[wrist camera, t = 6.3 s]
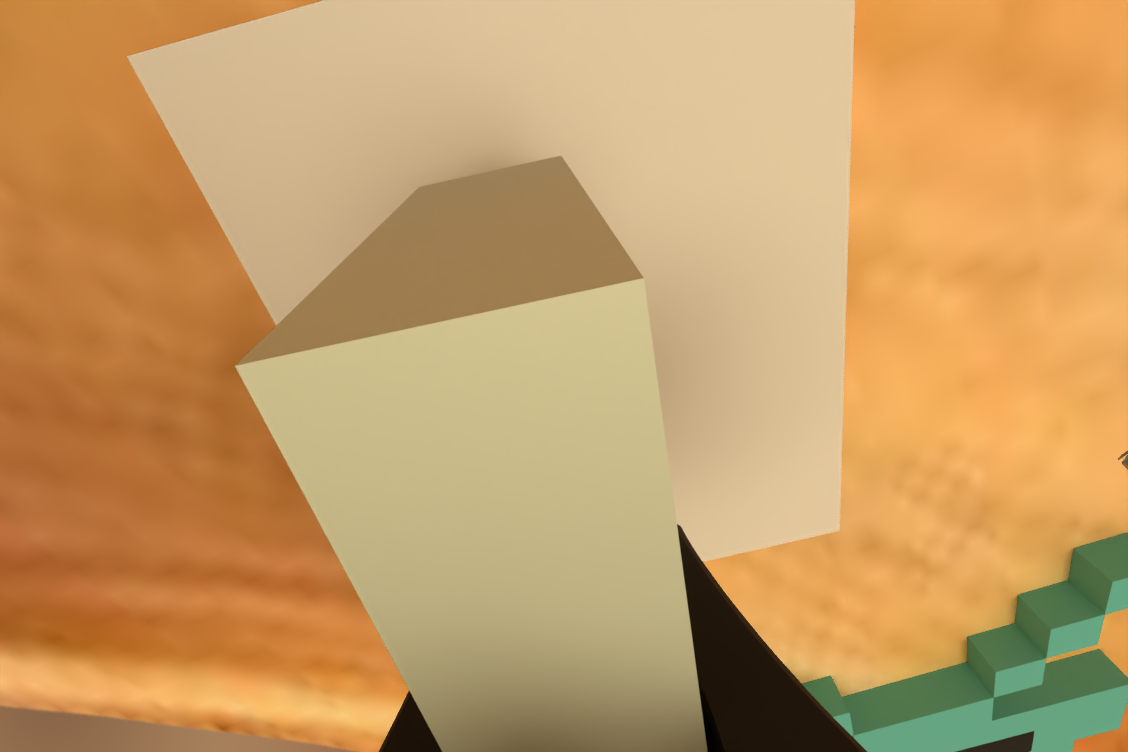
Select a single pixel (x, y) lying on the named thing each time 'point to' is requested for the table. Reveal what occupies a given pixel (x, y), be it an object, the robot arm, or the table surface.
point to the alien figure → (1009, 676)
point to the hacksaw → (1127, 461)
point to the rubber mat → (605, 171)
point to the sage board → (496, 466)
